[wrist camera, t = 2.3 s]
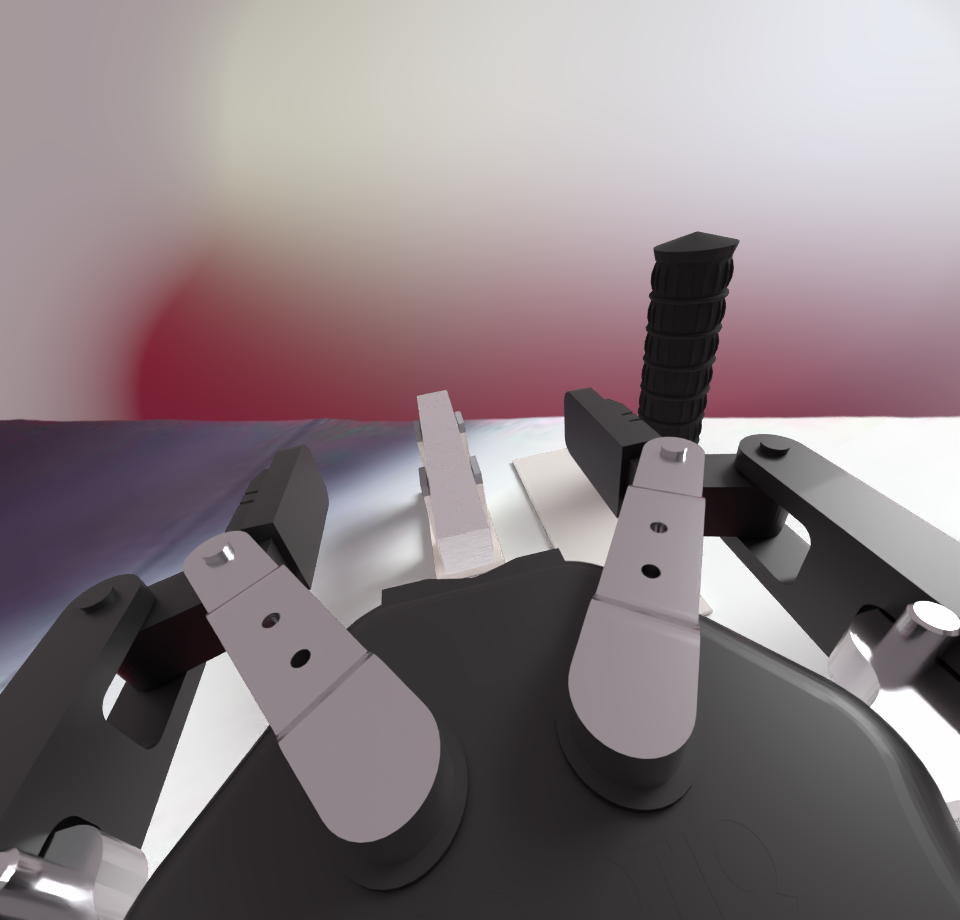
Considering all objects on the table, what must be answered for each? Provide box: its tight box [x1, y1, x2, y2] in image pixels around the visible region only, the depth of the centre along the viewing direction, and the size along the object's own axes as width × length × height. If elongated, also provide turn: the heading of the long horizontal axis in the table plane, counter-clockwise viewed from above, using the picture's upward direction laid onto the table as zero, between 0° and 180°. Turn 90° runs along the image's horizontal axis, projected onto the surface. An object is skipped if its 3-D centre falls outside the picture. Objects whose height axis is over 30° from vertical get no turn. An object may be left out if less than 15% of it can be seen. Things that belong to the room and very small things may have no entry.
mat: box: [512, 448, 713, 615], centre depth 45 cm, size 10×28×1 cm, turn 10°
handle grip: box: [638, 232, 739, 444], centre depth 43 cm, size 10×26×10 cm
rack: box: [414, 411, 505, 579], centre depth 44 cm, size 7×16×11 cm, turn 10°
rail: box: [417, 390, 495, 575], centre depth 37 cm, size 24×4×4 cm, turn 11°
